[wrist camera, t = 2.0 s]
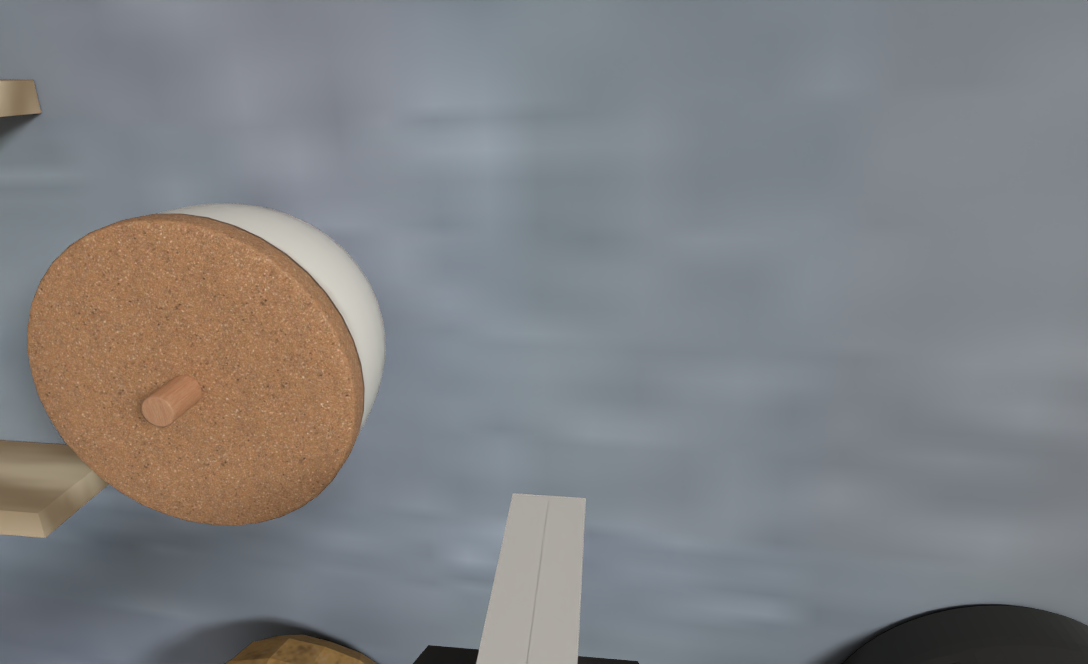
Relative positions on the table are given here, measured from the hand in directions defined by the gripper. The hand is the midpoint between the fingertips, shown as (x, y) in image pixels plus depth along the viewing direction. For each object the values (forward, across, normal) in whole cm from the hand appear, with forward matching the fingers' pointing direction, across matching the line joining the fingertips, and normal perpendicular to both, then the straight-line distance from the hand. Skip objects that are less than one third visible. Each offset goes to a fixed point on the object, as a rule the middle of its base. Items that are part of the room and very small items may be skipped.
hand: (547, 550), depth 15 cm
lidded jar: (+15, +12, 0) cm, 19 cm away
